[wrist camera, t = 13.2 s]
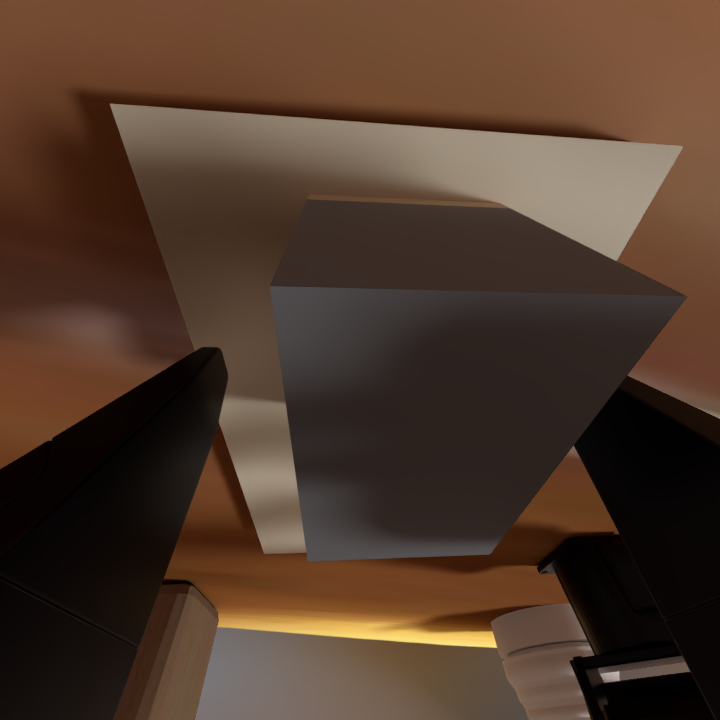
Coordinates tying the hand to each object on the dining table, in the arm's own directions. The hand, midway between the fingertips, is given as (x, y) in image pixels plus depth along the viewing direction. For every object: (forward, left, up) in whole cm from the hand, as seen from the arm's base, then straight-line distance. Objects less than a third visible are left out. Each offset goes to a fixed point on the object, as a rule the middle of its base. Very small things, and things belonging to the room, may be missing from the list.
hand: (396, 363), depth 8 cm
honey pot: (-46, -26, -3) cm, 53 cm away
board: (-6, 0, -3) cm, 7 cm away
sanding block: (0, 0, -2) cm, 2 cm away
